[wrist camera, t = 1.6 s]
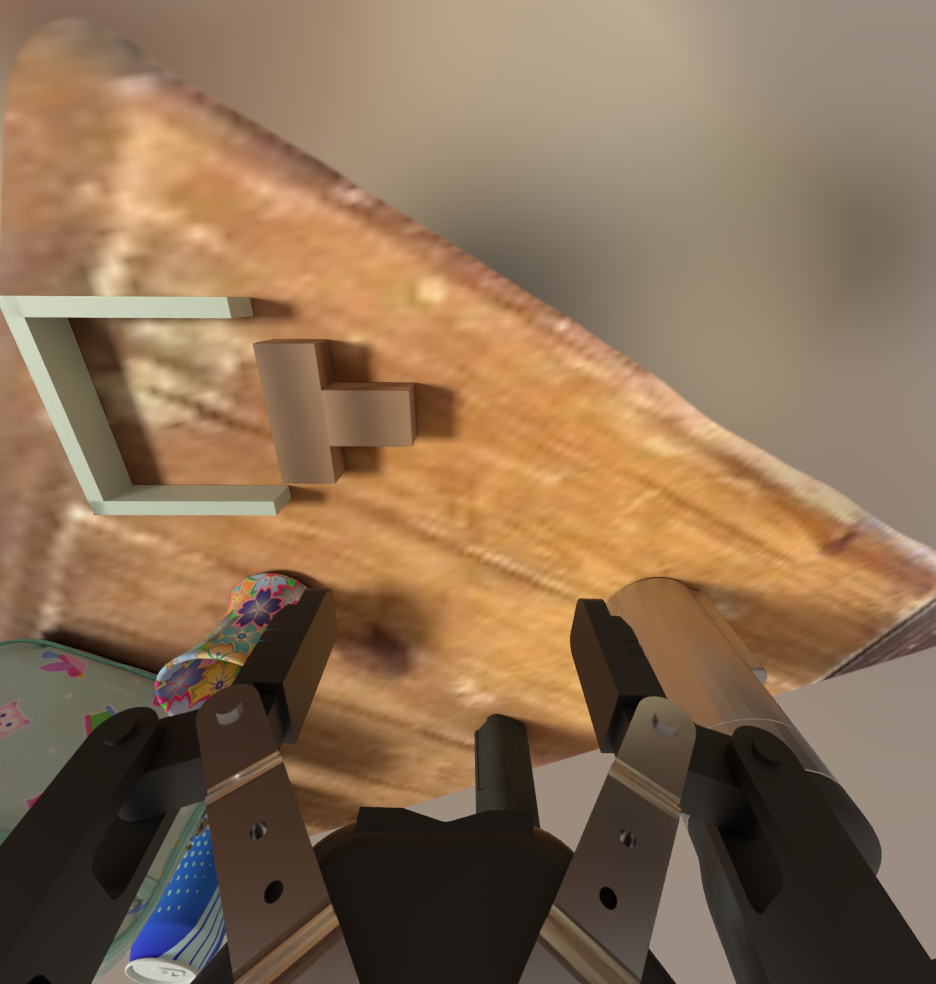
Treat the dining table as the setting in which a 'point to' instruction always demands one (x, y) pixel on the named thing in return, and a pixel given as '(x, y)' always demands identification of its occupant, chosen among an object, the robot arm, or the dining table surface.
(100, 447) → the bay
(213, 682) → the mug
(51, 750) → the lunch box
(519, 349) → the dining table surface
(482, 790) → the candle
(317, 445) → the t block
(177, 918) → the beer can
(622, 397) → the dining table surface
